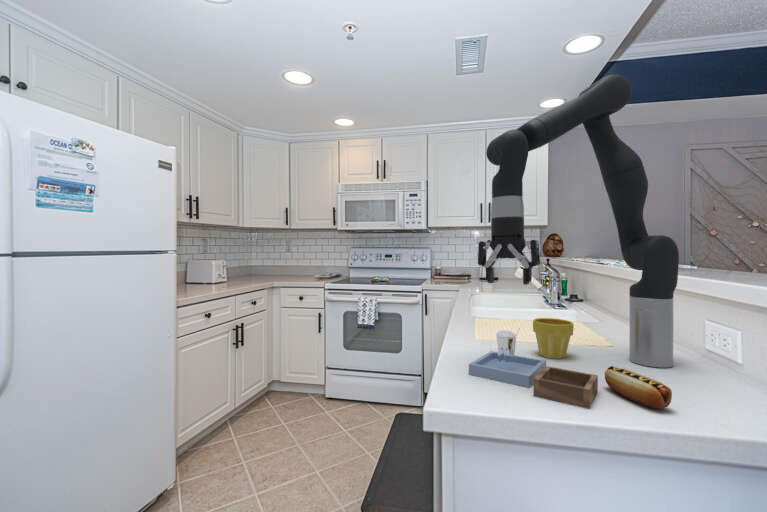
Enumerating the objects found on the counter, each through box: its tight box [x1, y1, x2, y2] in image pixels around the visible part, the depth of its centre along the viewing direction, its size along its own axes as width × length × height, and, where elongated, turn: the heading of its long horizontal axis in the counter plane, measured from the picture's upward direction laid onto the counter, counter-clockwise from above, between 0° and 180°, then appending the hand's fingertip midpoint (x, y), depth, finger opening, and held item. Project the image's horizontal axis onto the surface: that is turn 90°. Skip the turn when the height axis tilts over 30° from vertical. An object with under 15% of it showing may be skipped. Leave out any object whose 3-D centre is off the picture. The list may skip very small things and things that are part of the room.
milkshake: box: [496, 327, 520, 370], centre depth 87 cm, size 4×5×10 cm
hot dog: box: [604, 365, 673, 409], centre depth 71 cm, size 5×13×5 cm, turn 10°
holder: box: [533, 365, 599, 410], centre depth 74 cm, size 10×10×4 cm
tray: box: [468, 351, 547, 388], centre depth 88 cm, size 14×14×2 cm
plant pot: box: [532, 317, 574, 360], centre depth 102 cm, size 10×10×10 cm
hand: (507, 283), depth 87 cm, fingers open, 8 cm apart
